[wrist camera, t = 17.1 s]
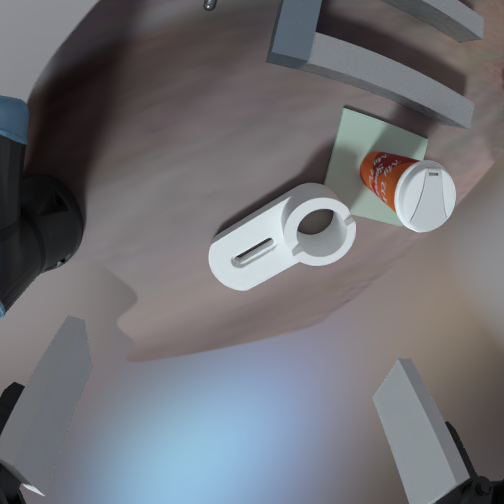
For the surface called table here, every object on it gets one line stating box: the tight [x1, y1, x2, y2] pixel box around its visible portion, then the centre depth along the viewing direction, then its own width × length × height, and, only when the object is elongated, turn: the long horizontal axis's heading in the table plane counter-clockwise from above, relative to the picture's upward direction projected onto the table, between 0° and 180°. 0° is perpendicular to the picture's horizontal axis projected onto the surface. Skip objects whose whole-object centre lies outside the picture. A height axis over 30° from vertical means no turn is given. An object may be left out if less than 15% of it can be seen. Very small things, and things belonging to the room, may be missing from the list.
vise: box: [203, 0, 484, 130], centre depth 27 cm, size 37×19×7 cm, turn 79°
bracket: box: [209, 183, 356, 291], centre depth 40 cm, size 20×9×7 cm, turn 123°
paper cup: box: [360, 151, 456, 232], centre depth 33 cm, size 8×8×14 cm
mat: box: [323, 108, 428, 226], centre depth 39 cm, size 14×14×1 cm
